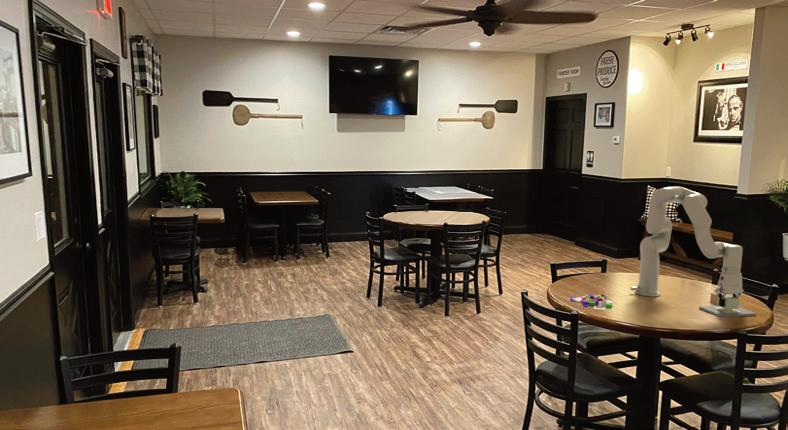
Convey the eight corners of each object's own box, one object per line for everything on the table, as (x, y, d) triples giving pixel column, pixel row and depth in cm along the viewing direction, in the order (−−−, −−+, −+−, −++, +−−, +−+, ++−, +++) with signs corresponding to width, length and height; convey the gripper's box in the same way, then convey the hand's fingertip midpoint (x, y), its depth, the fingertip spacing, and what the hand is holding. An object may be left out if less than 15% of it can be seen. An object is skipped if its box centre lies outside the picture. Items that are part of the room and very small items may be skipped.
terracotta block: (720, 305, 290) (721, 296, 289) (710, 302, 296) (710, 293, 295) (730, 305, 291) (731, 295, 291) (719, 301, 297) (720, 292, 297)
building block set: (573, 294, 307) (574, 286, 306) (614, 299, 298) (615, 291, 298) (567, 307, 284) (567, 298, 283) (611, 312, 276) (611, 304, 275)
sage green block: (726, 309, 274) (727, 299, 274) (717, 305, 281) (718, 295, 280) (738, 308, 276) (739, 298, 275) (728, 304, 282) (729, 295, 281)
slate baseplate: (720, 317, 270) (721, 315, 269) (699, 308, 283) (699, 306, 283) (756, 315, 274) (756, 313, 274) (733, 307, 287) (733, 304, 287)
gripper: (722, 272, 270) (718, 309, 273) (752, 271, 274) (748, 307, 276) (710, 268, 277) (706, 304, 280) (740, 267, 281) (736, 302, 284)
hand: (727, 305), depth 278 cm, fingers closed on sage green block, 6 cm apart
